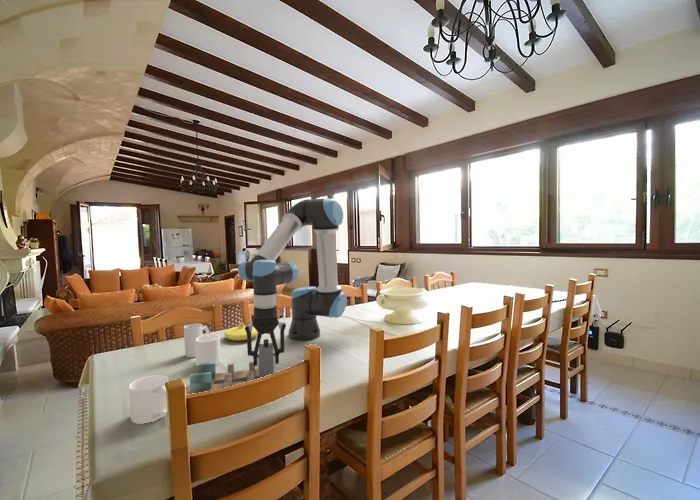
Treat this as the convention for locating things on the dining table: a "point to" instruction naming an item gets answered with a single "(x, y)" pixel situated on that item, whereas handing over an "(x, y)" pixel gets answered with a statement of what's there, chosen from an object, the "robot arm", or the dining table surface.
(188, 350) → the mug
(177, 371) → the dining table surface
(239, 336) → the yellow pattypan squash
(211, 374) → the board
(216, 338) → the cup
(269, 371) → the block
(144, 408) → the mug
